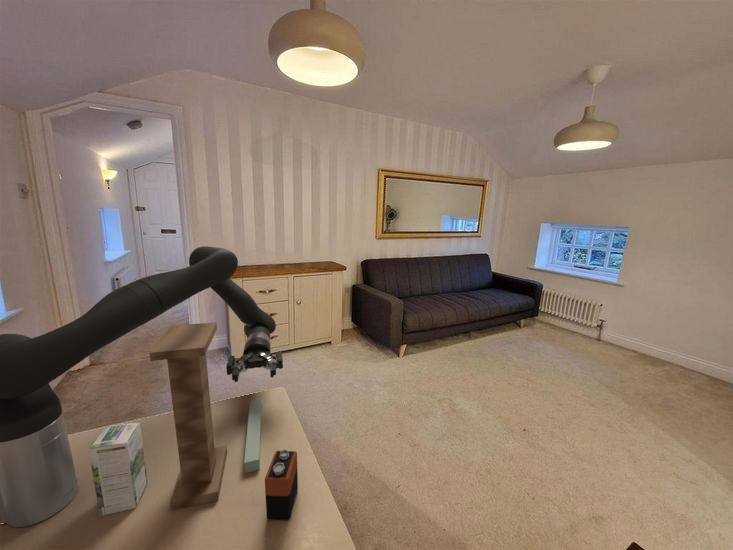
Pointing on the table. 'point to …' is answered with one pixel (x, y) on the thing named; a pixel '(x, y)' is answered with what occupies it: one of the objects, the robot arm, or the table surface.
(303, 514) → the table surface
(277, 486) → the battery
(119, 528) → the table surface
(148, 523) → the table surface
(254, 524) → the table surface
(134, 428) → the syrup box
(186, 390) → the stand
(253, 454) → the peg
